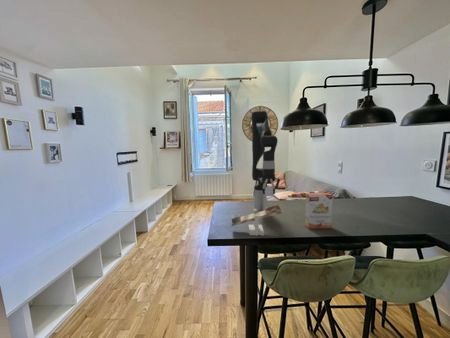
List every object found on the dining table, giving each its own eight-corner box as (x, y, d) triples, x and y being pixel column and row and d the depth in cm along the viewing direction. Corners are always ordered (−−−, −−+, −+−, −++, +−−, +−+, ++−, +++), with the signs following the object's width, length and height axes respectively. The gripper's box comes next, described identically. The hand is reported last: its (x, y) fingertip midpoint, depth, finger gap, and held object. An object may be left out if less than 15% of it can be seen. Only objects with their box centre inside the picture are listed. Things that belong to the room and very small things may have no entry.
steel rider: (264, 195, 135) (264, 188, 135) (264, 194, 140) (264, 186, 140) (273, 195, 135) (273, 188, 134) (272, 194, 140) (272, 186, 139)
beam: (232, 226, 124) (230, 219, 123) (232, 221, 133) (230, 214, 132) (282, 213, 121) (280, 206, 121) (279, 209, 130) (277, 202, 130)
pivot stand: (249, 235, 122) (249, 215, 120) (248, 226, 135) (248, 208, 133) (263, 235, 121) (263, 215, 120) (261, 226, 134) (261, 208, 133)
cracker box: (308, 229, 128) (309, 195, 126) (304, 225, 134) (305, 192, 132) (332, 228, 128) (333, 194, 126) (327, 225, 134) (328, 192, 132)
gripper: (279, 167, 138) (279, 193, 140) (257, 167, 140) (257, 192, 142) (281, 168, 131) (280, 195, 133) (257, 168, 133) (257, 195, 135)
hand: (268, 194), depth 137 cm, fingers closed on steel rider, 5 cm apart
